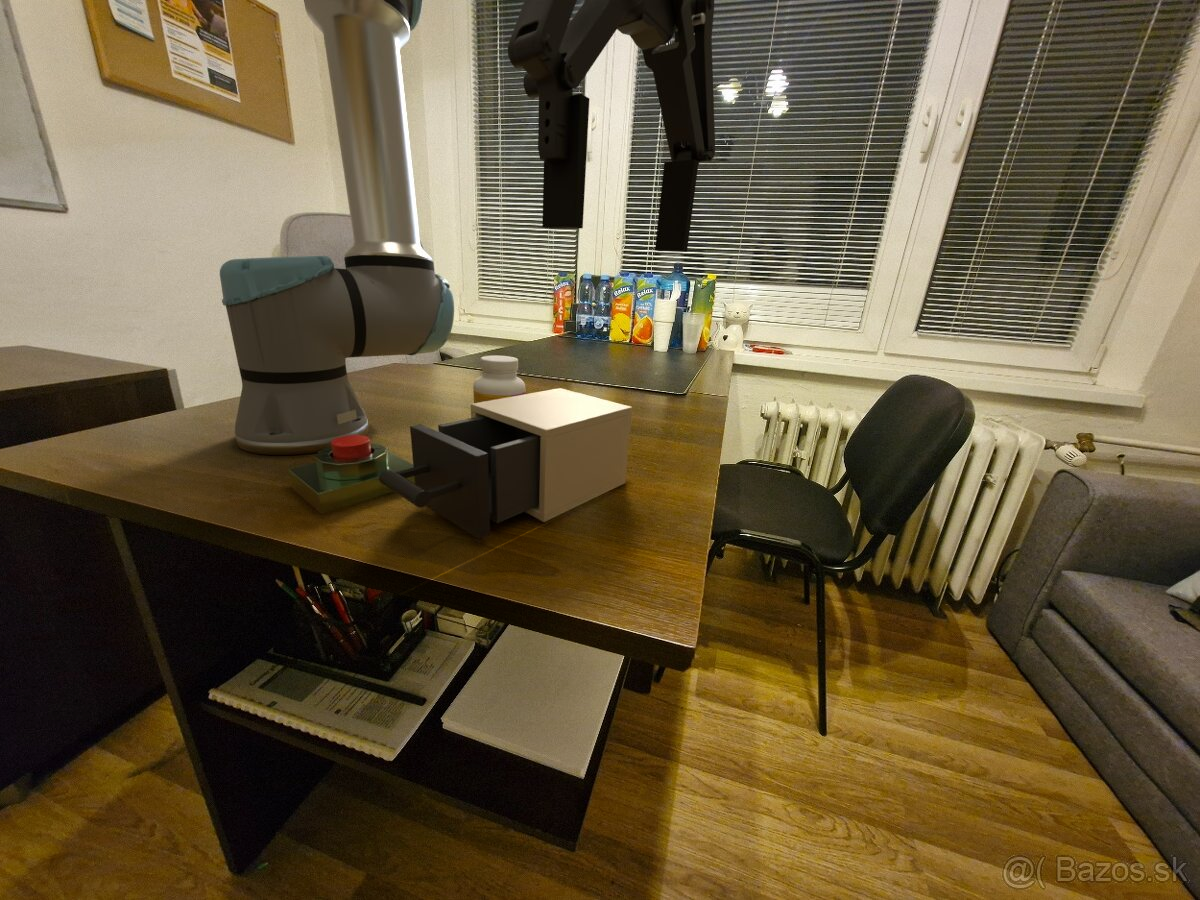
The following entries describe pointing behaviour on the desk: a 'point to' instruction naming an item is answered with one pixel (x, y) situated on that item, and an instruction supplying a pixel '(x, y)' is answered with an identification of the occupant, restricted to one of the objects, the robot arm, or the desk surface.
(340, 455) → the button
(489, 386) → the supplement bottle
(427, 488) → the drawer
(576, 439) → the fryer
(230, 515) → the desk surface
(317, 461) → the block
